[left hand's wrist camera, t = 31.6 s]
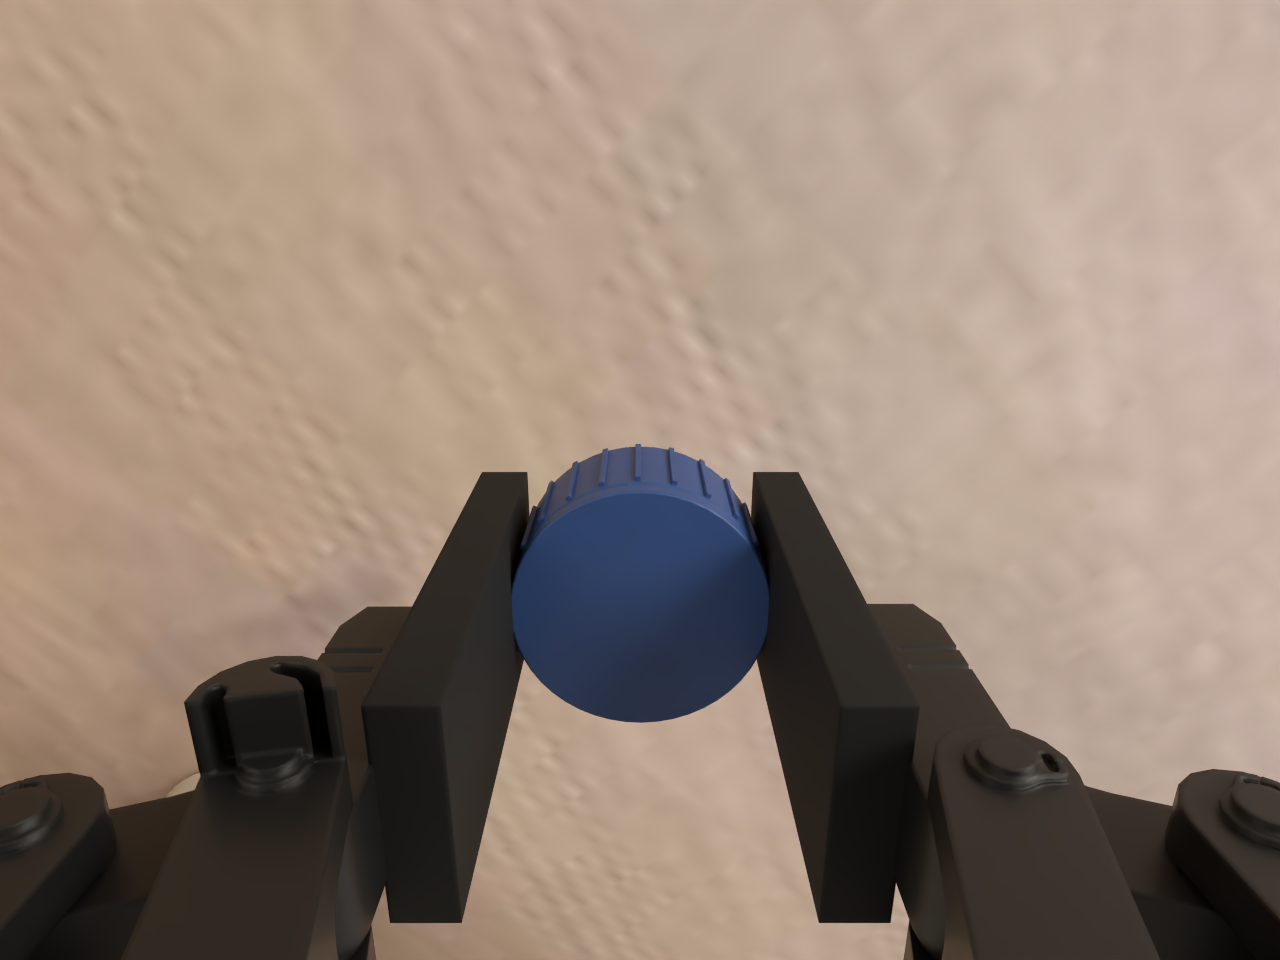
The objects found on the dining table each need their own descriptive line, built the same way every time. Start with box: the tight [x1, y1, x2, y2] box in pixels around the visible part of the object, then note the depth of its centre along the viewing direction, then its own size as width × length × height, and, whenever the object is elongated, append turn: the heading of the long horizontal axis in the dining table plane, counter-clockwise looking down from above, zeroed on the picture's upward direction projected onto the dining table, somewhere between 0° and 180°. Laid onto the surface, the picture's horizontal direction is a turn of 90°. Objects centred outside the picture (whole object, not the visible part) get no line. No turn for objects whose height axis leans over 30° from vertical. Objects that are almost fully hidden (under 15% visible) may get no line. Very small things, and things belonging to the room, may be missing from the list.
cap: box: [511, 444, 769, 723], centre depth 13 cm, size 4×4×2 cm
